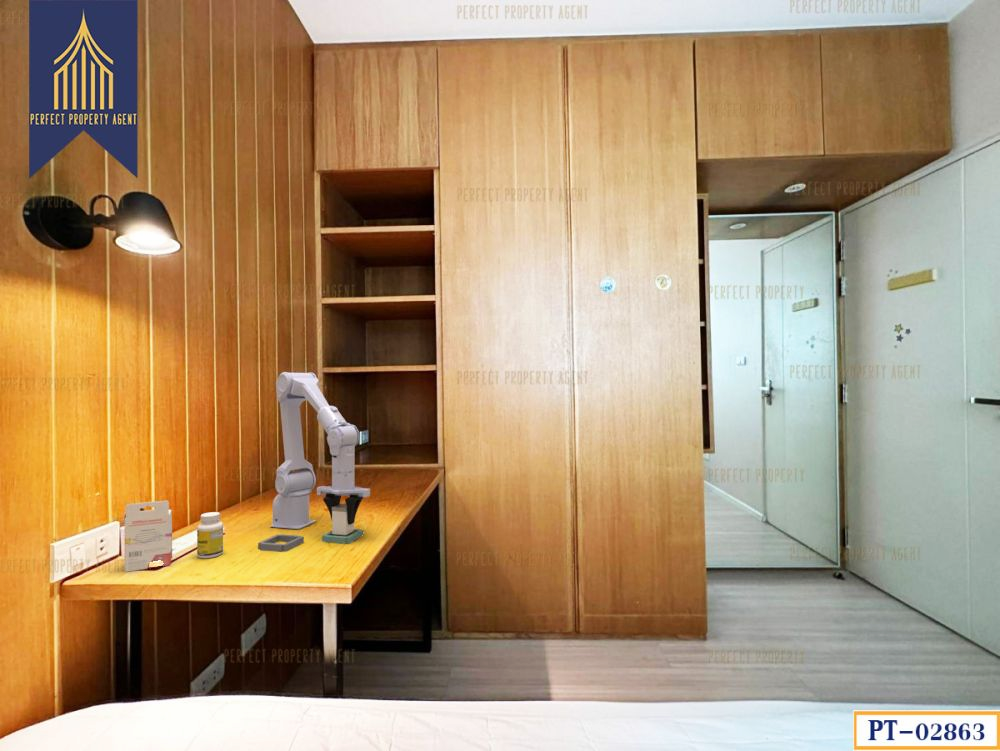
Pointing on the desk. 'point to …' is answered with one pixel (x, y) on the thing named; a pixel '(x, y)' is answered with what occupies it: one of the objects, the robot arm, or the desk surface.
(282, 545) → the socket
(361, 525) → the desk surface
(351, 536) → the socket
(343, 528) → the plug
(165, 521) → the ink cartridge box
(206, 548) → the supplement bottle
